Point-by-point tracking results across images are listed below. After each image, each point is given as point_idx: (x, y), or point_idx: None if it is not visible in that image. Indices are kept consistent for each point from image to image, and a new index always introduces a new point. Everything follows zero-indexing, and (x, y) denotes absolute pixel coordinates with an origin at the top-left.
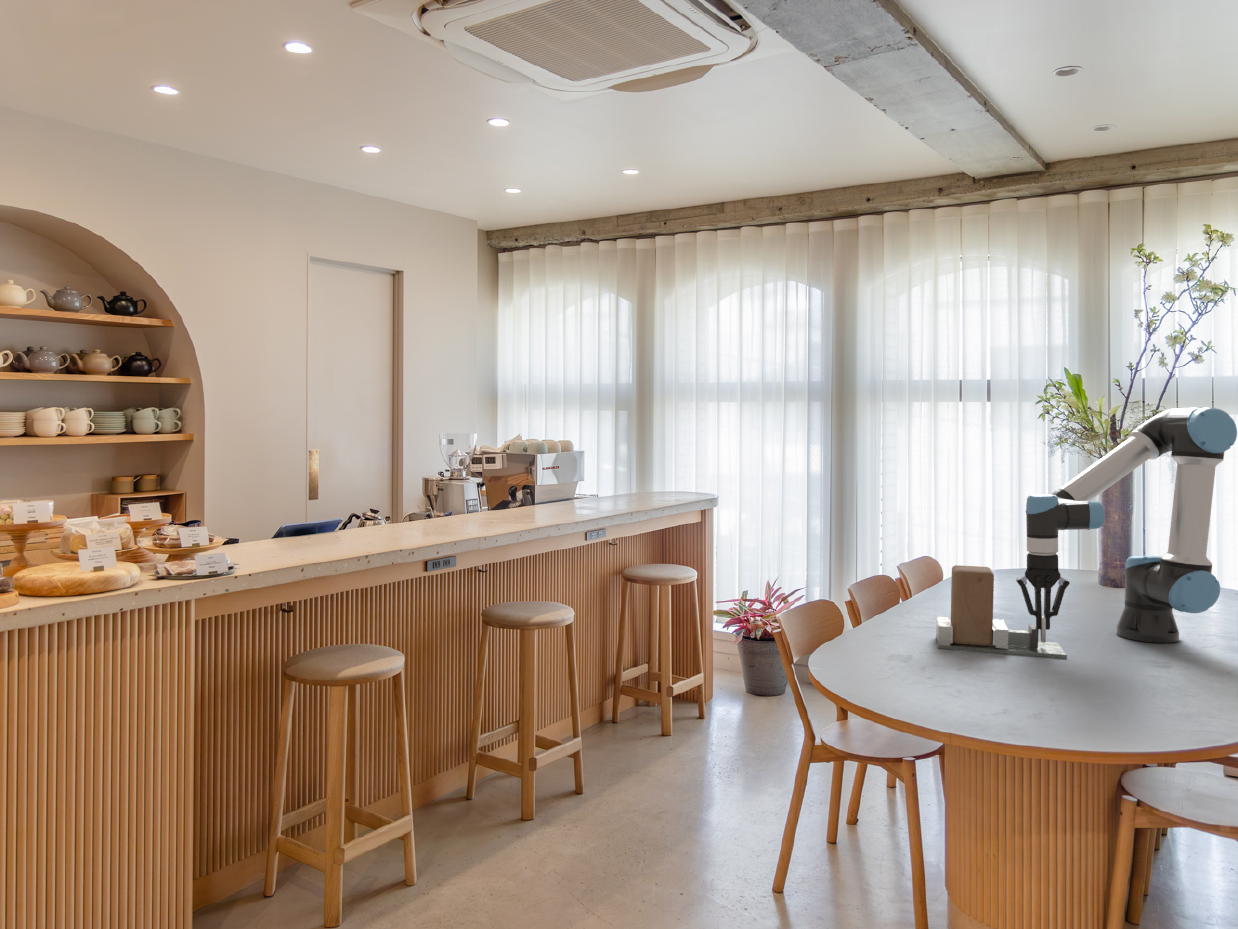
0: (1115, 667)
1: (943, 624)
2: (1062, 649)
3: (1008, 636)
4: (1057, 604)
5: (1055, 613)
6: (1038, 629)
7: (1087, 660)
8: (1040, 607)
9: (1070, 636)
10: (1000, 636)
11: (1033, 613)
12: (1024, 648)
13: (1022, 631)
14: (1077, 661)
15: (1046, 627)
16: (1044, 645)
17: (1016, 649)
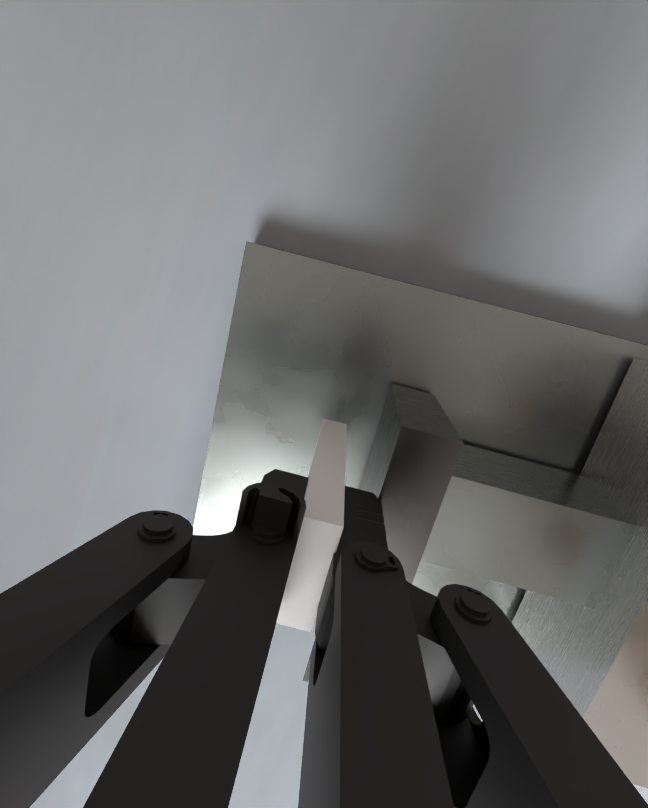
0: (3, 30)
1: None
2: (221, 389)
3: (595, 499)
4: (22, 632)
5: (156, 522)
6: (403, 425)
7: (131, 214)
8: (356, 652)
9: None
10: None
11: (451, 595)
12: (477, 402)
13: (479, 532)
14: (206, 179)
15: (296, 482)
16: None
17: (553, 372)
